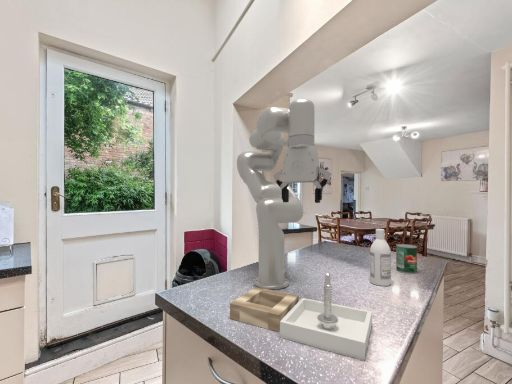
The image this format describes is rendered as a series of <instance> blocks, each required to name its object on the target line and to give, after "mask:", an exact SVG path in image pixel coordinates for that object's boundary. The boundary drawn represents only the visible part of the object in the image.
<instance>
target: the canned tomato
mask: <svg viewBox="0 0 512 384" xmlns="http://www.w3.org/2000/svg"><path fill="white" fill-rule="evenodd" d="M395 247H396V249H395V250H396V251H395V252H396V253H395V256H396V257H395V259H396V261H395V263H396V265H395V266H396V269H395V270H396V271H397V272H398V273H401V274H406V275H407V274H408V275H409V274H410V275H415V274H418V246H417V245H415V244H414V245H413V244H407V243H402V244H401V243H398V244H397V243H396V244H395Z"/></svg>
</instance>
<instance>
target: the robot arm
mask: <svg viewBox="0 0 512 384" xmlns="http://www.w3.org/2000/svg"><path fill="white" fill-rule="evenodd" d="M284 134H288V138H287V141H285V138H286V137H285V135H284ZM248 141H249V144H250V146H251V147H252V148H253V149H255V150H260V151H251V150H250V151H243V152H241V153H240V154H238V156H237V159H236V168H237V171H238V174H239V177H240V179H241V180H242V181H243V183H244V184H245V185H246V186H247V188H248V190H249V192H250V195H251V197H252V199H253V200H254V202H255V203H256V206H255V213H256V218H257V227H258V229H257V230H258V277H256V278H254V285H255V287H258V288H263V289H268V290H280V289H284V288H287V287H288V286H289V283H290V281H289V279H287V278H286V277H285V275H286V274H285V273H287V268H286V267H285V265H286V264H285V263H286V261H285V258H286V257H285V253H286V252H285V251H286V249H285V248H286V247H285V245H286V244H285V243H286V242H285V241H286V239H285V233H284V231H283V229H282V228H281V227H280V224H283V223H284V224H287V223H288V224H290V223H297V222H299V221H301V220H302V218H303V216H304V206H303V203H302V201H301V200H300V198H299V197H298V195H297V194H296V192H295V191H294V190H293V188H292V187H291V186H290V185H291V184H293V183H294V184H299V183H300V184H301V183H302V184H303V183H313V185H314V186H315V189H314V202H315V204H320V203H321V201H322V199H323V188H324V187H325V186H326V185H327V184H329V181H330V179H331V177H332V176H333V175H332V172H330V171H328V170H325V169H324V168H323V167H322V168H321V167H320V161H319V160H320V159H319V153H318V150H317V149H318V148H317V147H316V146H315V104H314V102H313V101H312V100H311V99H302V98H301V99H295V100H293V101H291V102H290V104H289V106H288V107H281V106H268V107H266V108H264V110H263V111H262V112H260V113H259V115H258V117H257V121H256V128H255V129H254V130H253V131H252V132H251V133H250V135H249V138H248ZM284 147H287V148H285V150H284ZM283 150H284V154H283V155H284V156H283V161H282V169H281V170H279V171H277V172H276V173H274V174H273V178H274V180H275V181H269V180H268V179H267V178H266V176H265V175H264V173H261V172H272V171H274V170H275V169H276V167H277V165H278V163H279V160H280V157H281V155H282V153H283ZM265 151H268V152H265ZM321 174H322V175H324V178H323V179H322V180H321V181H320V177H321V176H320V175H321ZM281 177H282V180H281Z"/></svg>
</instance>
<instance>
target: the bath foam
mask: <svg viewBox="0 0 512 384" xmlns="http://www.w3.org/2000/svg"><path fill="white" fill-rule="evenodd" d="M385 236H386V235H385V229H384V228H375V239H374V240H373V242H372V244H371V246H370V249H369V281H370V283H371V284H372V285H375V286H378V287H389V286H390V285H391V284H392V266H391V265H392V257H391V256H392V251H391V247H390V245H389V244H388V242H387V240H386V238H385Z"/></svg>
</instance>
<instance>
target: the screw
mask: <svg viewBox="0 0 512 384" xmlns="http://www.w3.org/2000/svg"><path fill="white" fill-rule="evenodd" d="M323 283H324V284H323V302H324V313H322V314H320V315H318V316H317V319H318V321H319V322H321V323H322V327H323V328H324V329H327V330H331V329H333V328H334V324H336V323H338V318H337V317H336V316H335V315H333V314H331V313H332V311H331V310H332V309H331V308H332V306H331V305H332V304H333V302H332V298H333V297H332V288H333V287H332V283H331V274H330V273H329V272H326V273H325V274H324V282H323ZM331 303H332V304H331Z"/></svg>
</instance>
